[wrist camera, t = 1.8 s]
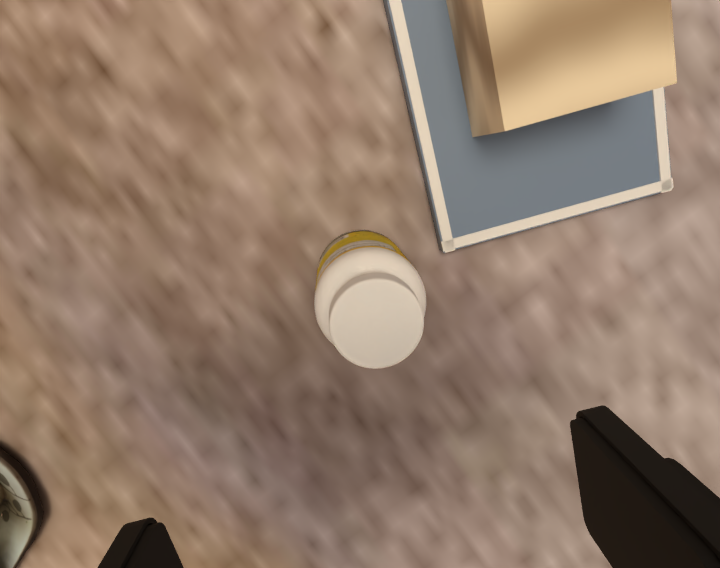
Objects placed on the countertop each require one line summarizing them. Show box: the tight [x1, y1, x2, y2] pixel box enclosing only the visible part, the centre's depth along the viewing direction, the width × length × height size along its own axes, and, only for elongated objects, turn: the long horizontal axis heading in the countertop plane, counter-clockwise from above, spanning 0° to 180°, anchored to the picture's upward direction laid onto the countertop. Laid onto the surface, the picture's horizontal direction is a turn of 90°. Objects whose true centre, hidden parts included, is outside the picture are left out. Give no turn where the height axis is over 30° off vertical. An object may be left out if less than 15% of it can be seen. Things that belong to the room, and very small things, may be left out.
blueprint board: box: [383, 0, 673, 253], centre depth 25 cm, size 18×14×1 cm
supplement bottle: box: [314, 230, 426, 369], centre depth 23 cm, size 5×5×10 cm
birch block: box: [446, 0, 677, 137], centre depth 22 cm, size 8×8×5 cm
